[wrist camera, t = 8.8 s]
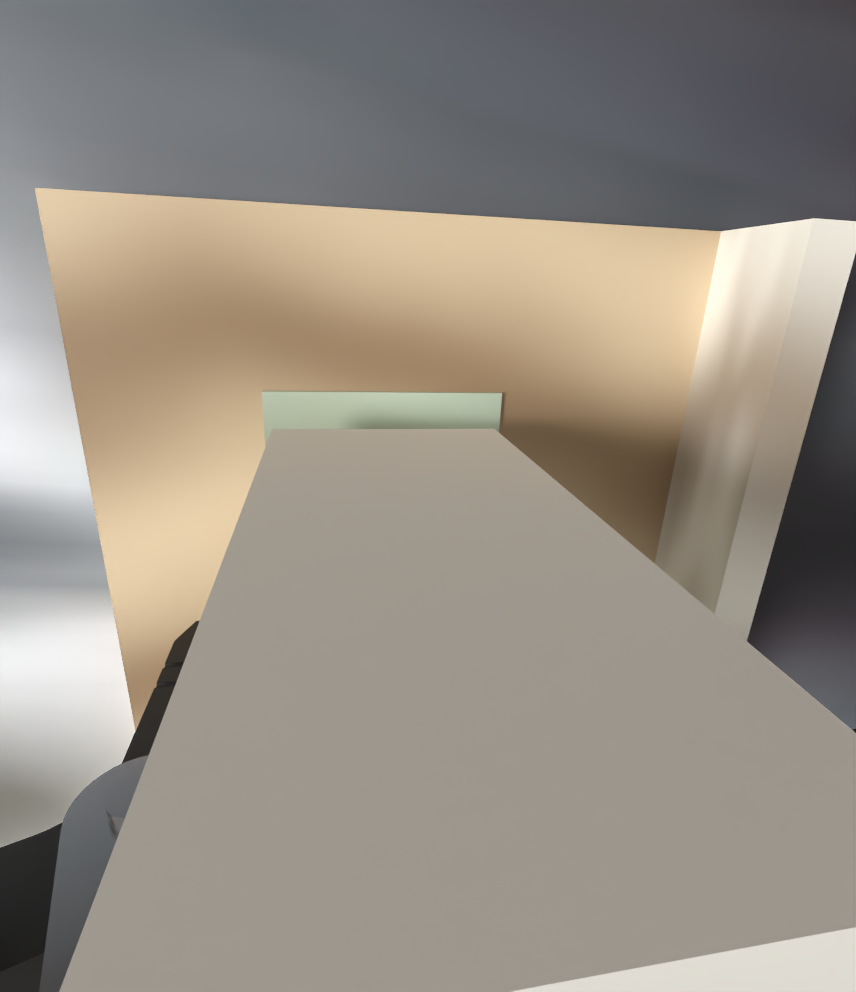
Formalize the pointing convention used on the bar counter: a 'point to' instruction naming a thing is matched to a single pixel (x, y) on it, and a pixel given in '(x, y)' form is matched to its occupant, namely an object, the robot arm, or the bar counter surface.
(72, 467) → the bar counter surface
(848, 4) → the bar counter surface
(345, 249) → the shelf board
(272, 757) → the carton
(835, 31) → the bar counter surface
